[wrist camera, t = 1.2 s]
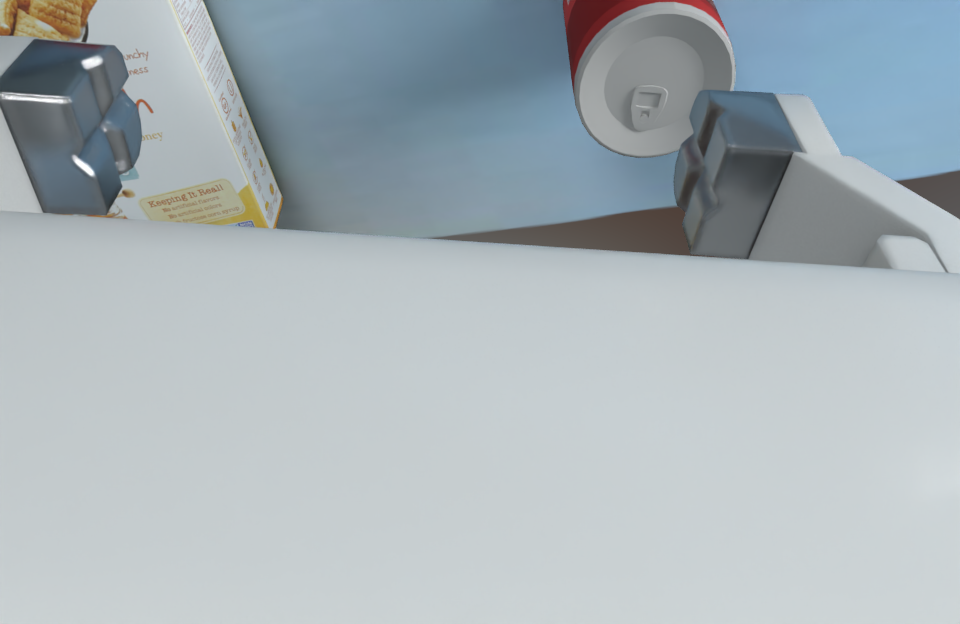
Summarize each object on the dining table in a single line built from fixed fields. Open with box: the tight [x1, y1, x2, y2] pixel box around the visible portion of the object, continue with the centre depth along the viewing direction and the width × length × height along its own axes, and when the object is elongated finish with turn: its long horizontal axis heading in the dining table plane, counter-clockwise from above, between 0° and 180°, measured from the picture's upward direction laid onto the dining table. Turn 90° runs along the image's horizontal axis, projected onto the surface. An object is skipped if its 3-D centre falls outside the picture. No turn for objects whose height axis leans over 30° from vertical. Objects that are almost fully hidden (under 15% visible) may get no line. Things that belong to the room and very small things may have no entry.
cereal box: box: [0, 0, 283, 229], centre depth 45 cm, size 20×6×28 cm
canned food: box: [563, 0, 736, 158], centre depth 41 cm, size 8×8×11 cm
